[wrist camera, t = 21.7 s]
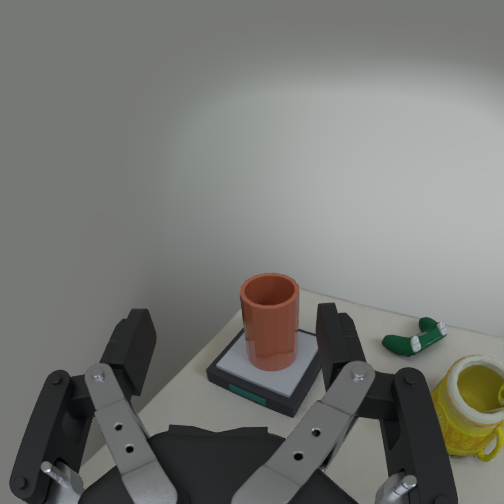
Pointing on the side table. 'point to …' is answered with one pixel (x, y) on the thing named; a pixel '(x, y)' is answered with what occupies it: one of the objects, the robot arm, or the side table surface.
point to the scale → (268, 375)
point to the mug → (471, 406)
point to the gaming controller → (417, 338)
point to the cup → (270, 320)
